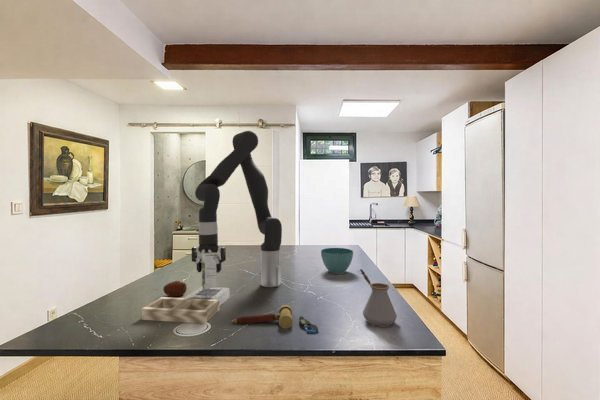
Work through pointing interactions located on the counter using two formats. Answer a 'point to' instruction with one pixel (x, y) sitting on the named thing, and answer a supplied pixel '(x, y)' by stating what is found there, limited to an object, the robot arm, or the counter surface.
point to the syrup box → (208, 270)
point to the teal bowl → (337, 259)
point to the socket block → (211, 294)
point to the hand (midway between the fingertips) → (209, 271)
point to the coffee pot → (378, 305)
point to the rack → (181, 310)
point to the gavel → (269, 318)
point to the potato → (175, 288)
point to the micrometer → (307, 325)
